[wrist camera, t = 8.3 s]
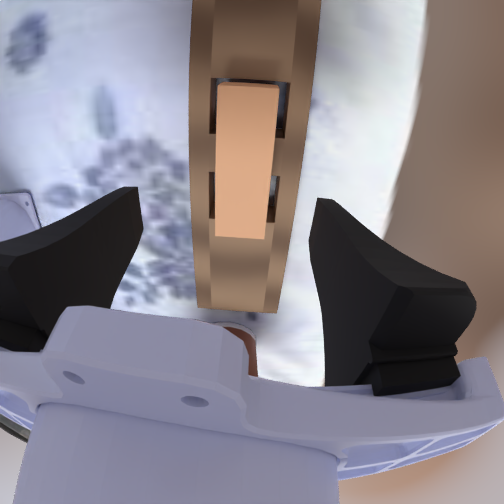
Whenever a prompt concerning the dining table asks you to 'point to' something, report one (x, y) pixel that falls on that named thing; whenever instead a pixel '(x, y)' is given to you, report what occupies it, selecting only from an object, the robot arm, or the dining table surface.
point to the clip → (244, 157)
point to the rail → (285, 145)
